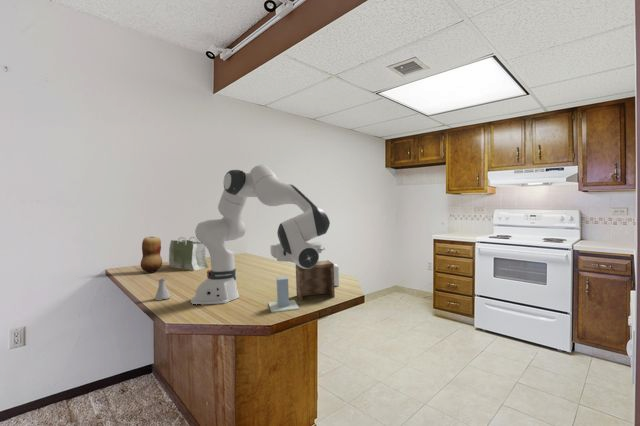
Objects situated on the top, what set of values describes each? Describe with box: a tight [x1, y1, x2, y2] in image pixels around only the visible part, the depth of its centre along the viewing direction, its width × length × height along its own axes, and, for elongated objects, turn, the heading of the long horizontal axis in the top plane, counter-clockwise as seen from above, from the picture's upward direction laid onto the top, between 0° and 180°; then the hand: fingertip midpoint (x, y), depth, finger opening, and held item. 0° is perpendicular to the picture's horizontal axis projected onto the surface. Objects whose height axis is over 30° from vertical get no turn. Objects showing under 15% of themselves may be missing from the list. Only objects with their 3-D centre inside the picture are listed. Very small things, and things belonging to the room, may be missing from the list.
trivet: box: [268, 299, 300, 314], centre depth 140 cm, size 12×12×1 cm
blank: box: [276, 276, 290, 307], centre depth 140 cm, size 4×4×12 cm
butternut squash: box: [140, 236, 163, 273], centre depth 222 cm, size 14×13×25 cm
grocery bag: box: [168, 236, 209, 272], centre depth 236 cm, size 32×14×23 cm, turn 55°
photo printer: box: [333, 263, 340, 287], centre depth 171 cm, size 10×4×12 cm, turn 103°
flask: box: [154, 277, 171, 301], centre depth 158 cm, size 7×7×10 cm
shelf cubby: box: [295, 259, 336, 302], centre depth 153 cm, size 17×9×16 cm, turn 105°
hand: (293, 246), depth 132 cm, fingers open, 8 cm apart
